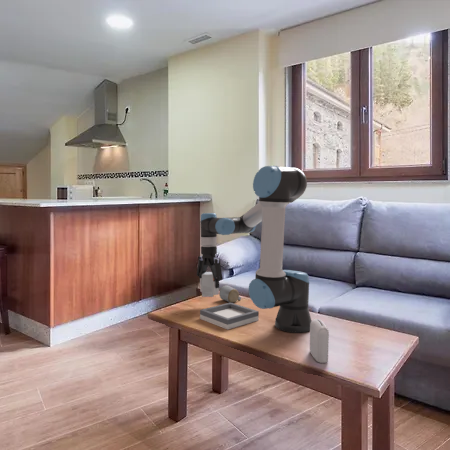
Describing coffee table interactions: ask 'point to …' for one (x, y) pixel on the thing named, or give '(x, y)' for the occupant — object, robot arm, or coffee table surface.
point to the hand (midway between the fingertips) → (209, 292)
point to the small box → (207, 284)
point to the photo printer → (319, 340)
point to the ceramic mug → (229, 294)
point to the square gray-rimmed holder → (229, 315)
